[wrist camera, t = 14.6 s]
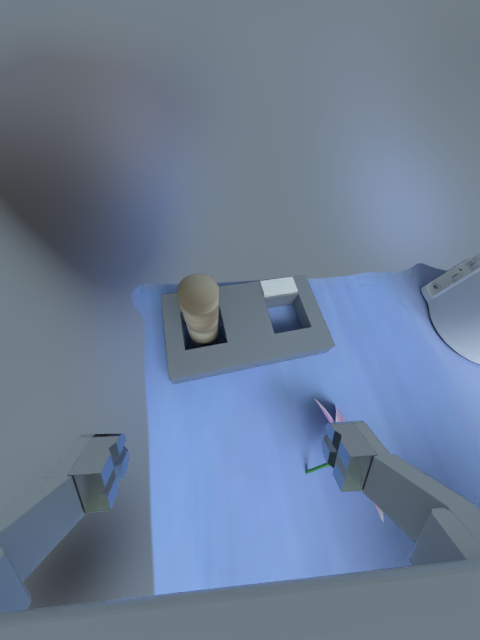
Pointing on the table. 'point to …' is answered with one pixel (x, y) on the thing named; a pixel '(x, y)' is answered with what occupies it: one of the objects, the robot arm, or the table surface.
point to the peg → (200, 308)
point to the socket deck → (247, 329)
